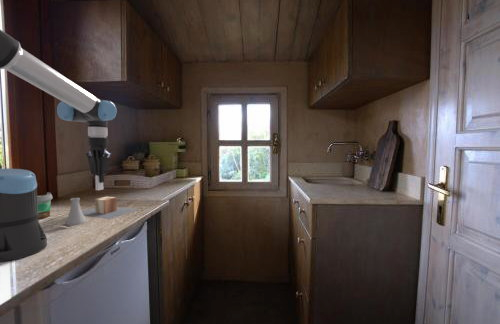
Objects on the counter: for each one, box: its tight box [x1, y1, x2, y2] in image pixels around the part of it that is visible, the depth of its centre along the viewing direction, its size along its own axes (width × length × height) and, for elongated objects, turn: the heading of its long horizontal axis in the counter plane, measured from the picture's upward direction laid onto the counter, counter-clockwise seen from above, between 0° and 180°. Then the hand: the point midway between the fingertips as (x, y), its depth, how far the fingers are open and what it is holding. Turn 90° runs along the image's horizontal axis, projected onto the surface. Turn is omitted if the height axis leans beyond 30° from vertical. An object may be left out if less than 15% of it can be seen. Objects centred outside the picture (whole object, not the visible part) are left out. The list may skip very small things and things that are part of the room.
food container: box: [37, 191, 54, 221], centre depth 103 cm, size 12×6×10 cm, turn 168°
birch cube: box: [94, 196, 118, 214], centre depth 114 cm, size 6×6×6 cm
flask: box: [65, 197, 87, 227], centre depth 98 cm, size 7×7×10 cm
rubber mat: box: [82, 206, 139, 220], centre depth 114 cm, size 16×22×1 cm
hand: (99, 189), depth 114 cm, fingers closed
